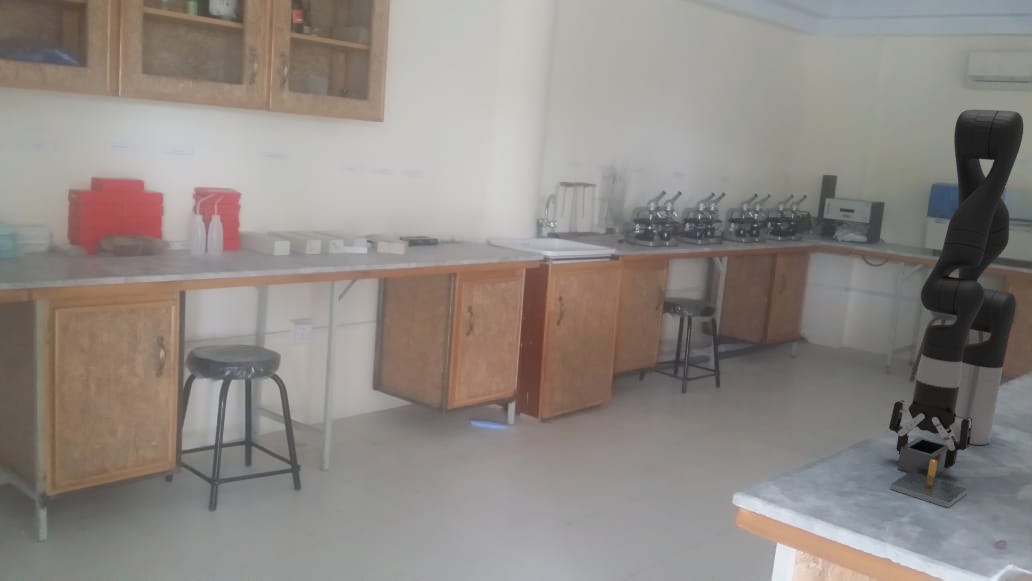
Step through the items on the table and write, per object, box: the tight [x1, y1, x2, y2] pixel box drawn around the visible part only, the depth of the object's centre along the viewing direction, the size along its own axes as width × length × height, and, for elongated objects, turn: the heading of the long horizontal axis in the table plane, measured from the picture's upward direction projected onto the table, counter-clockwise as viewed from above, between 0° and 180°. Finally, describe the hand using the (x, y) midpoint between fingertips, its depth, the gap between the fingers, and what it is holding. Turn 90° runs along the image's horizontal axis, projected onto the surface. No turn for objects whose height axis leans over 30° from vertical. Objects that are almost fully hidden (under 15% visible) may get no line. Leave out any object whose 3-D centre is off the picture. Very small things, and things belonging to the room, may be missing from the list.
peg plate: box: [889, 459, 968, 509], centre depth 161 cm, size 10×10×6 cm
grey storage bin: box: [897, 436, 949, 477], centre depth 173 cm, size 10×6×4 cm, turn 137°
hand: (924, 460), depth 173 cm, fingers open, 8 cm apart
